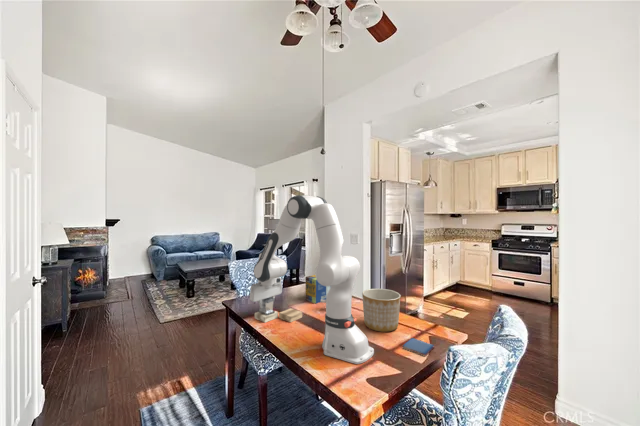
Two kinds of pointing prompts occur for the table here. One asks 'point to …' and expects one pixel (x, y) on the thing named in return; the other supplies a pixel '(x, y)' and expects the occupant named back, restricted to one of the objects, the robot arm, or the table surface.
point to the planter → (381, 309)
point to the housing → (267, 306)
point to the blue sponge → (418, 346)
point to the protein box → (315, 290)
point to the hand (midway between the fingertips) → (266, 305)
